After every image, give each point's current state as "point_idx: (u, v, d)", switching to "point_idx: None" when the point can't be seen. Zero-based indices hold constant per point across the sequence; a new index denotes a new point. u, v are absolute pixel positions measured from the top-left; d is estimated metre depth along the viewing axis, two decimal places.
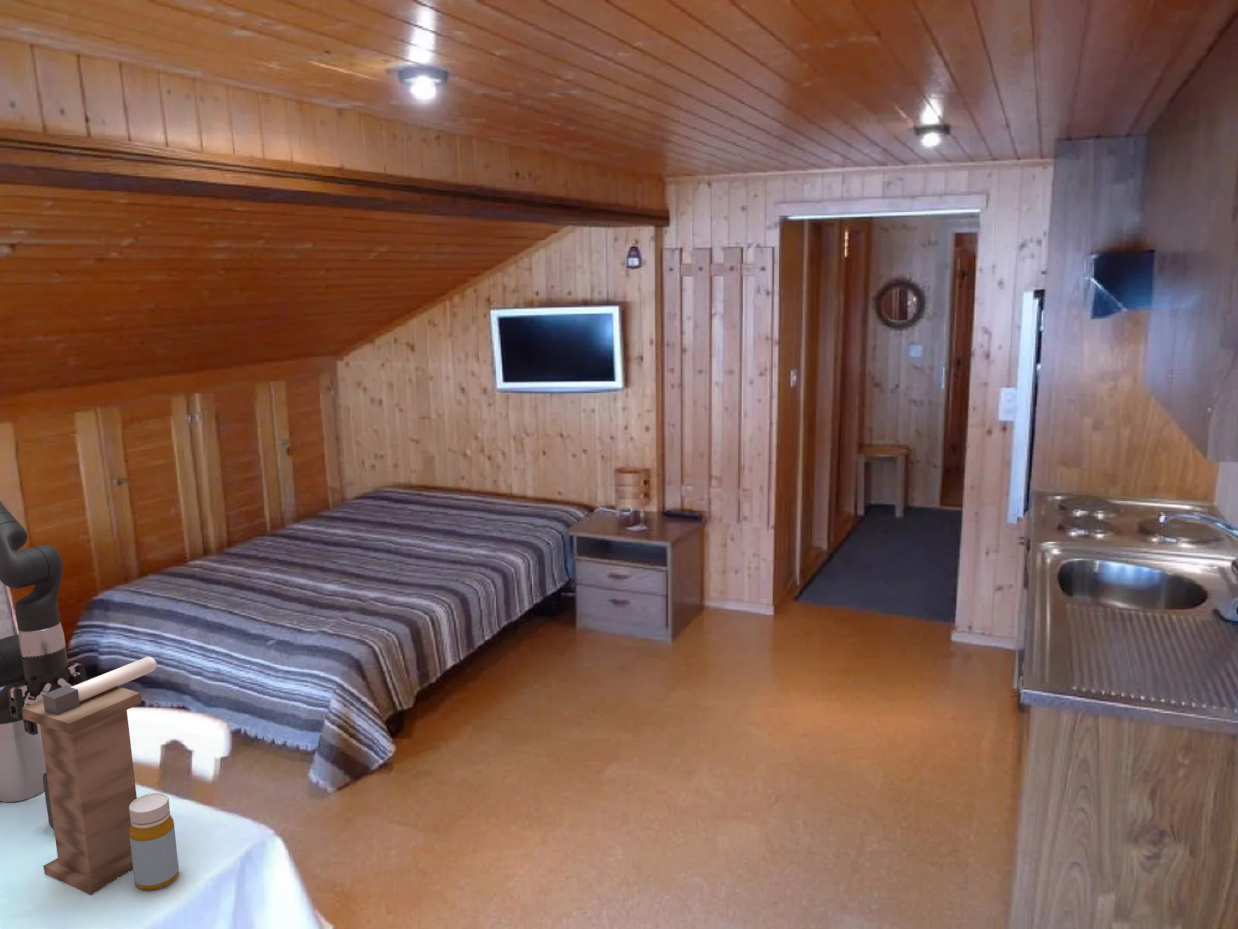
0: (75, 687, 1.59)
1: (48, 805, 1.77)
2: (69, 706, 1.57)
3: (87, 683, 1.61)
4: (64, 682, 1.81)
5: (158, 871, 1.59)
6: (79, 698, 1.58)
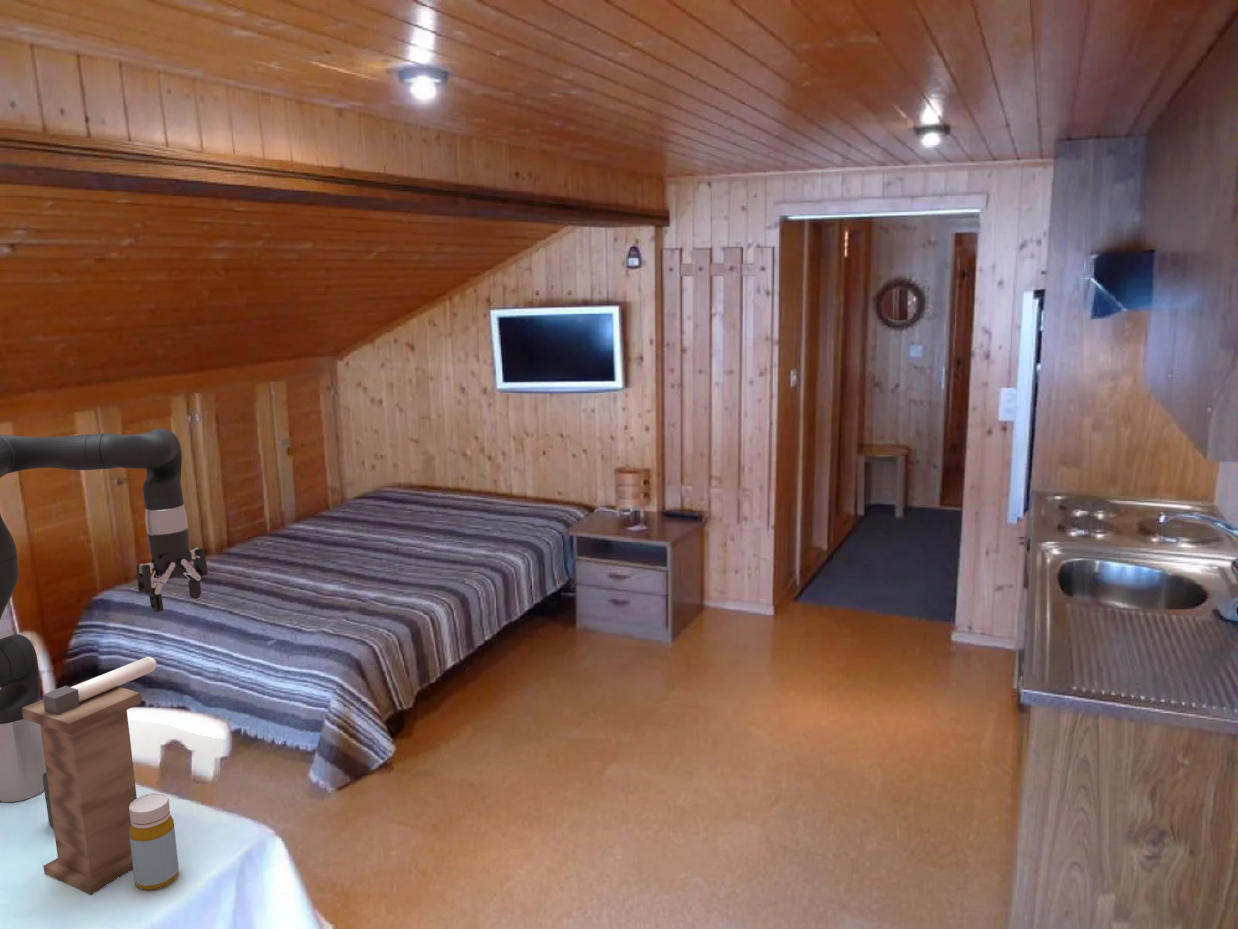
0: (75, 687, 1.59)
1: (48, 805, 1.77)
2: (69, 706, 1.57)
3: (87, 683, 1.61)
4: (187, 563, 1.87)
5: (158, 871, 1.59)
6: (79, 698, 1.58)
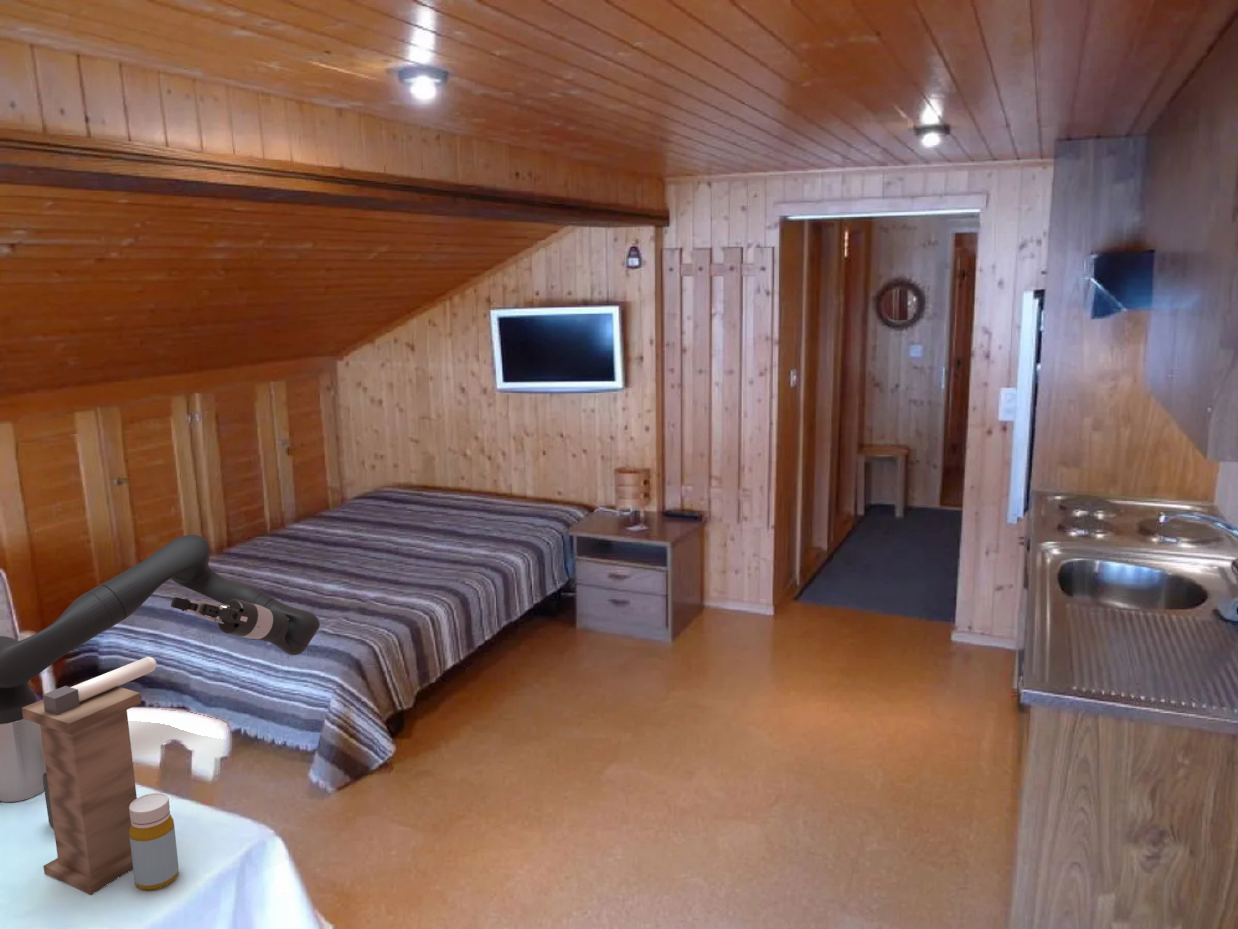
0: (75, 687, 1.59)
1: (48, 805, 1.77)
2: (69, 706, 1.57)
3: (87, 683, 1.61)
4: (228, 605, 1.94)
5: (158, 871, 1.59)
6: (79, 698, 1.58)
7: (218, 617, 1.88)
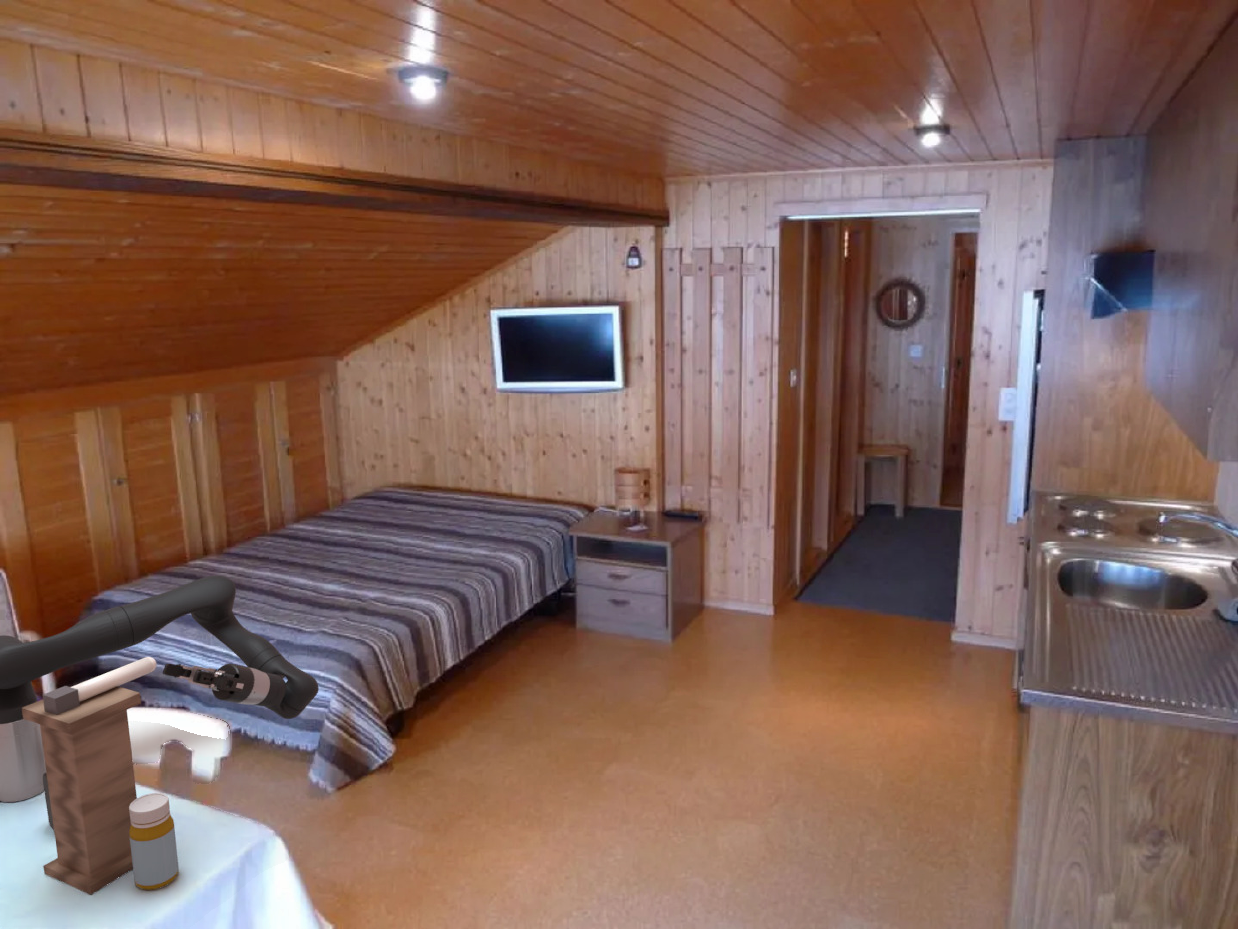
0: (75, 687, 1.59)
1: (48, 805, 1.77)
2: (69, 706, 1.57)
3: (87, 683, 1.61)
4: (223, 671, 1.84)
5: (158, 871, 1.59)
6: (79, 698, 1.58)
7: (213, 685, 1.79)
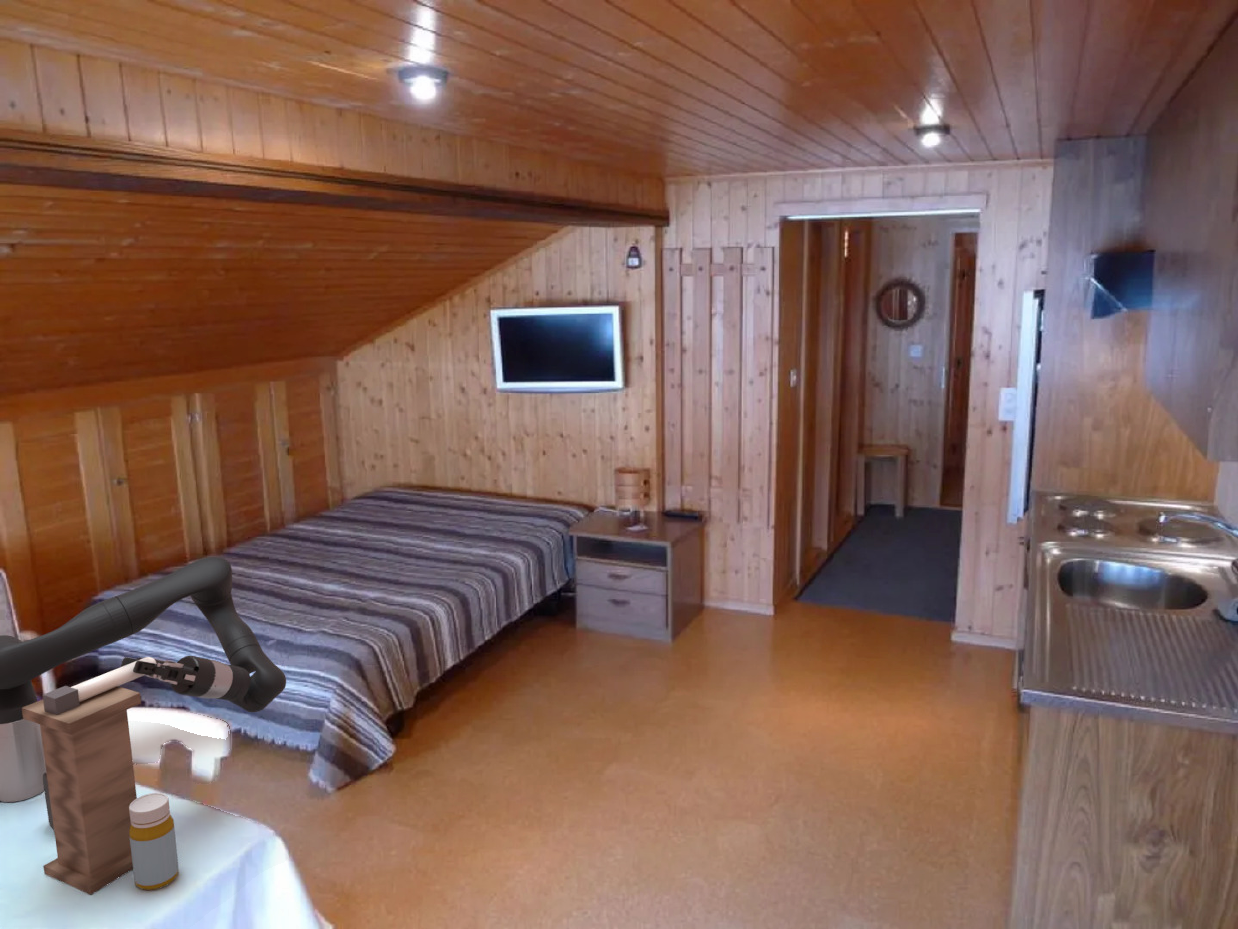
0: (75, 687, 1.59)
1: (48, 805, 1.77)
2: (69, 706, 1.57)
3: (87, 683, 1.60)
4: (179, 663, 1.76)
5: (158, 871, 1.59)
6: (79, 698, 1.58)
7: (154, 675, 1.70)
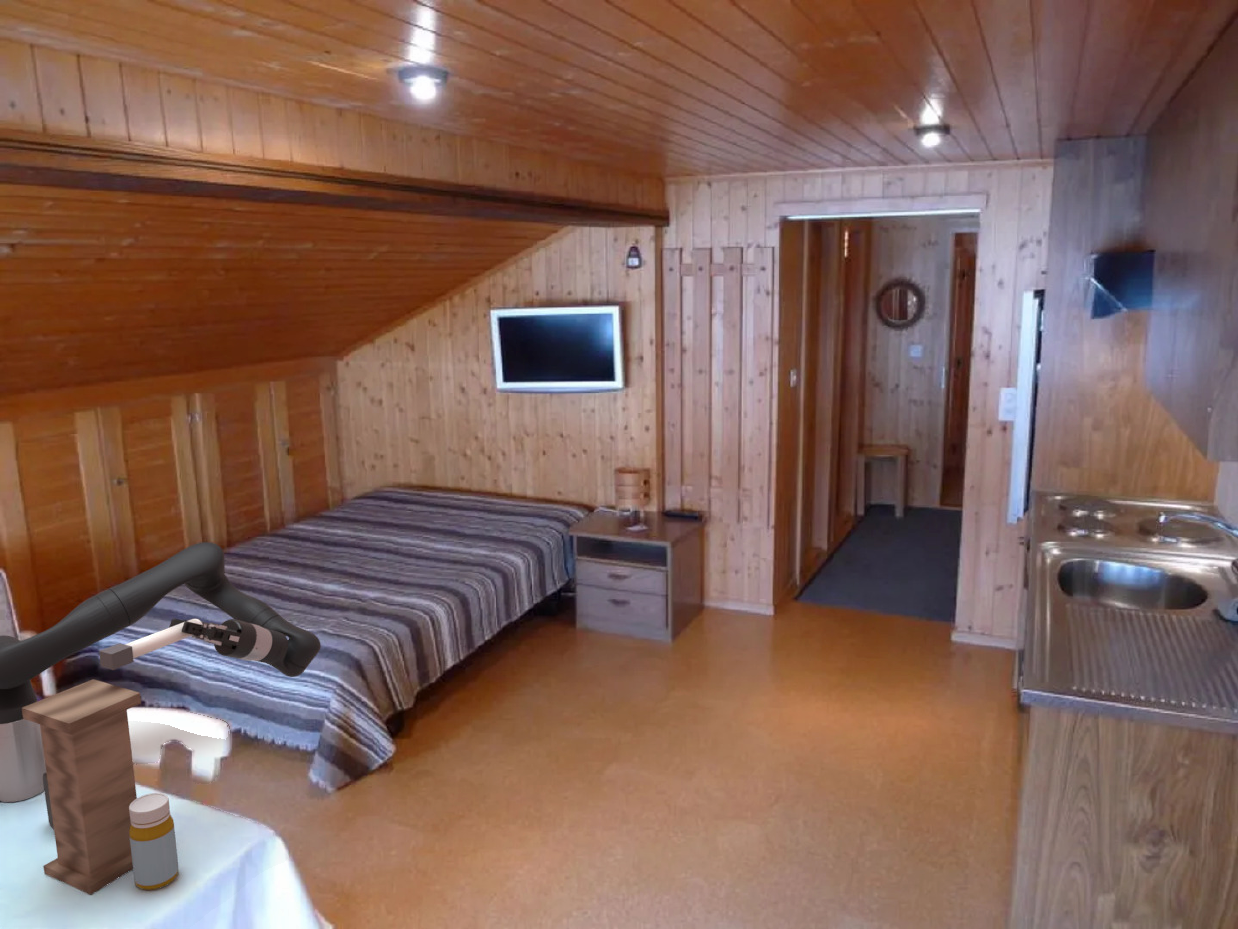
0: (129, 644, 1.67)
1: (48, 805, 1.77)
2: (124, 662, 1.65)
3: (140, 641, 1.69)
4: (223, 625, 1.84)
5: (157, 871, 1.59)
6: (133, 655, 1.67)
7: (200, 635, 1.79)
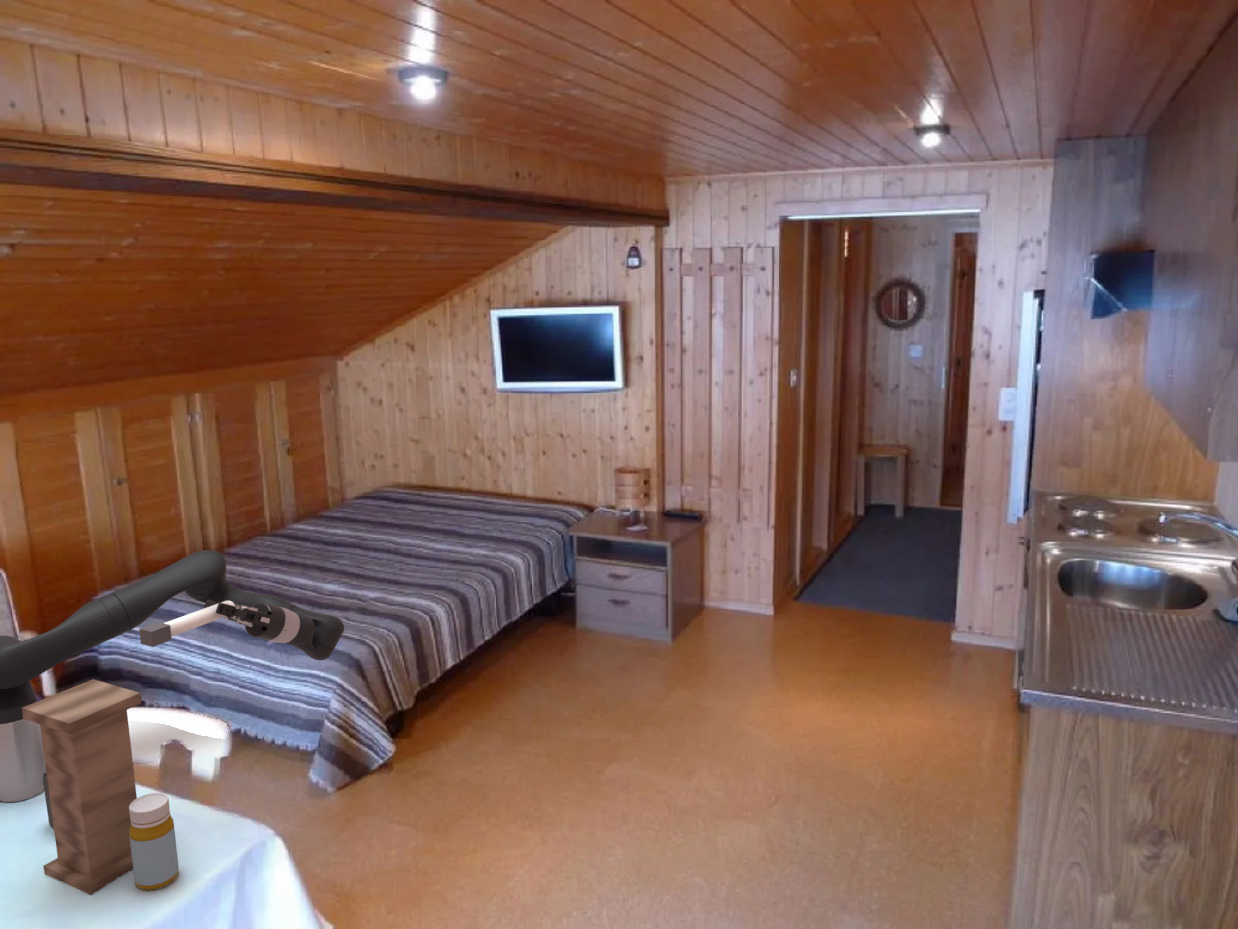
0: (167, 623, 1.75)
1: (48, 805, 1.77)
2: (162, 639, 1.73)
3: (177, 620, 1.77)
4: (254, 608, 1.92)
5: (157, 871, 1.59)
6: (171, 633, 1.75)
7: (233, 616, 1.87)
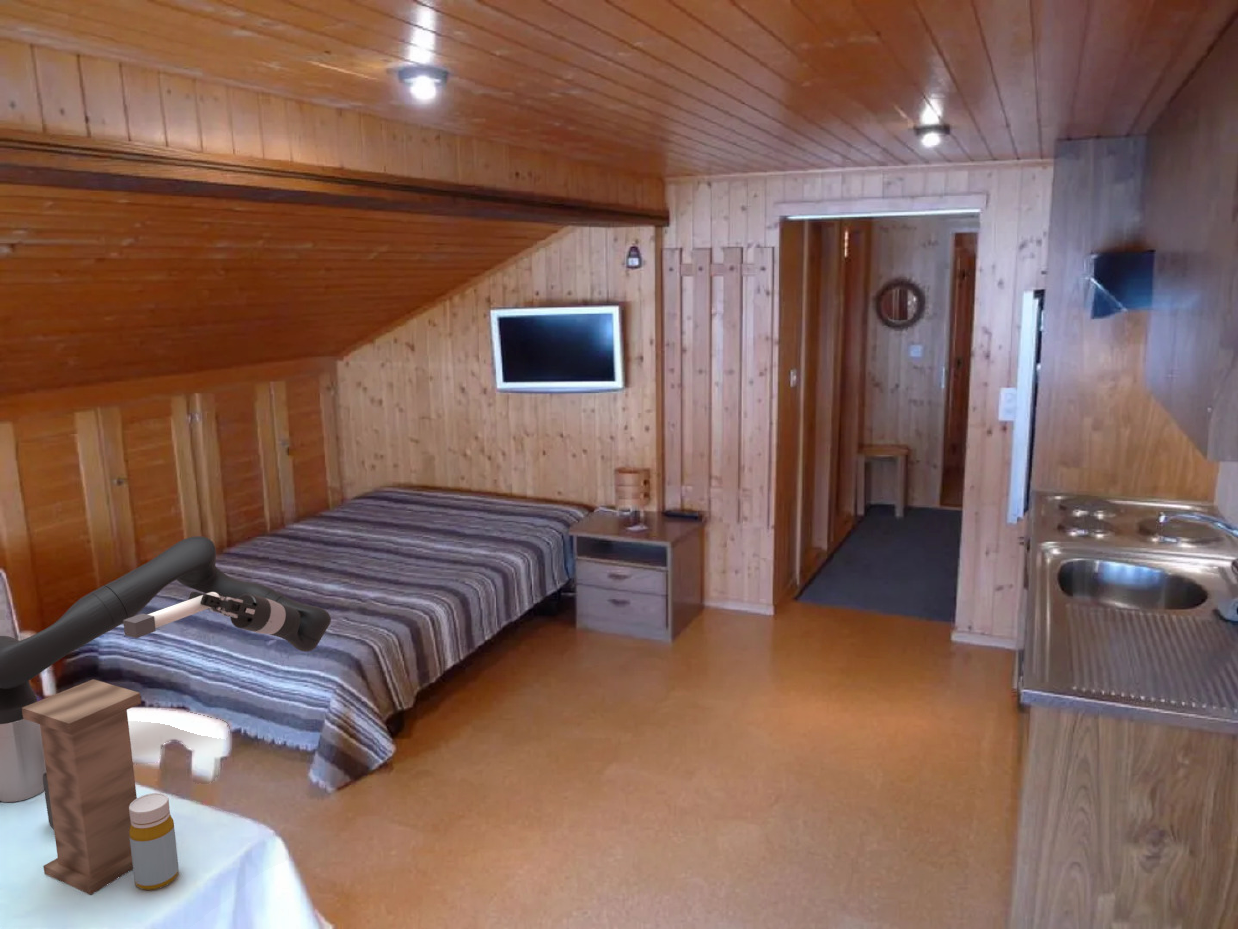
0: (151, 614, 1.76)
1: (48, 805, 1.77)
2: (147, 631, 1.73)
3: (161, 611, 1.77)
4: (239, 599, 1.93)
5: (157, 871, 1.59)
6: (155, 624, 1.75)
7: (218, 608, 1.87)
